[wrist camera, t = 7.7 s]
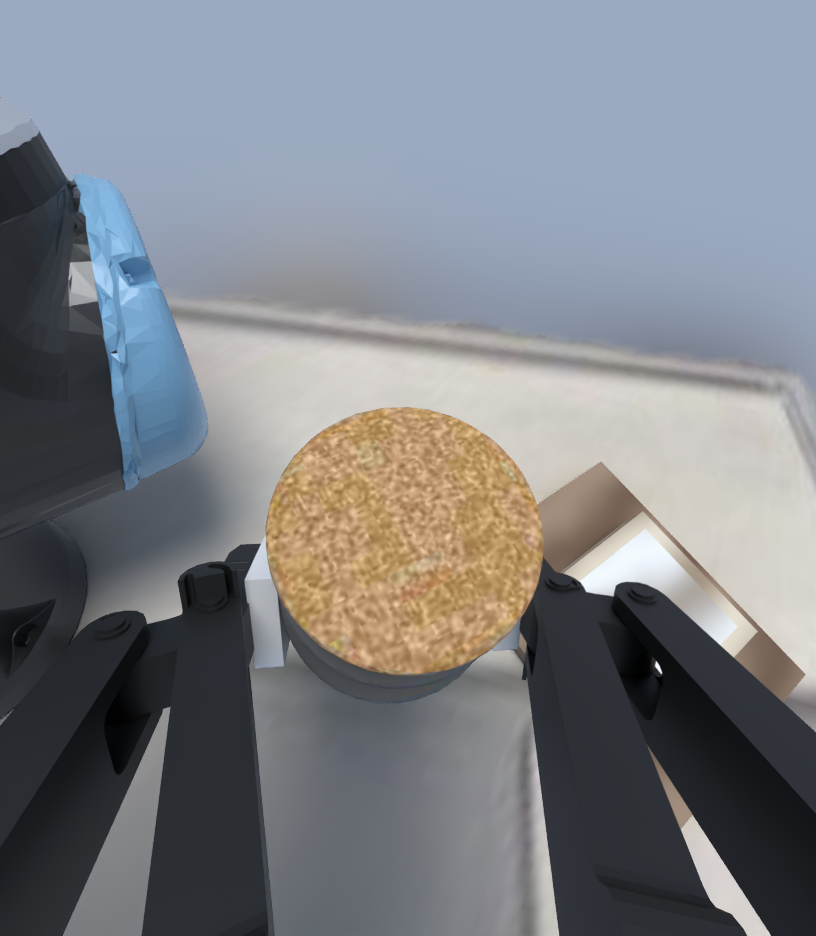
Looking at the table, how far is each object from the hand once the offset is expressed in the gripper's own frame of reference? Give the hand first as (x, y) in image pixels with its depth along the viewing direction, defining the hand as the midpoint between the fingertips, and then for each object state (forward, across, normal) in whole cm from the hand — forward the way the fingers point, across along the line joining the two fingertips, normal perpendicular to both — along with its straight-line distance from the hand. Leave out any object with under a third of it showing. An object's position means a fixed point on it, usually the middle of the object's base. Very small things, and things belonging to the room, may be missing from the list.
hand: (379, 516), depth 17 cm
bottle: (+1, 0, -6) cm, 7 cm away
